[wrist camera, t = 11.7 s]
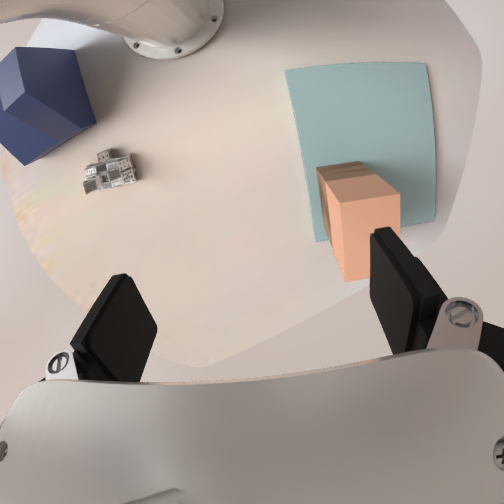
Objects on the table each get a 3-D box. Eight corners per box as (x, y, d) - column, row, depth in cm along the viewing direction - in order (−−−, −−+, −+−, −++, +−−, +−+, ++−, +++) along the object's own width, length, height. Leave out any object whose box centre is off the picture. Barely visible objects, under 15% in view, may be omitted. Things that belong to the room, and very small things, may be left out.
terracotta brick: (325, 181, 28) (339, 203, 23) (376, 174, 27) (400, 193, 22) (332, 250, 32) (345, 282, 27) (378, 242, 31) (398, 271, 26)
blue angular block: (40, 158, 34) (-13, 185, 23) (20, 92, 28) (-37, 105, 17) (96, 123, 32) (40, 141, 21) (74, 50, 26) (15, 47, 15)
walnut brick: (315, 167, 33) (325, 181, 28) (359, 161, 32) (376, 174, 27) (323, 227, 37) (333, 250, 32) (363, 220, 36) (379, 242, 31)
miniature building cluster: (138, 114, 31) (109, 121, 25) (150, 178, 36) (127, 199, 29) (82, 131, 32) (48, 143, 26) (95, 189, 37) (67, 210, 30)
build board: (284, 71, 28) (285, 70, 27) (421, 63, 26) (425, 63, 25) (314, 237, 39) (316, 242, 38) (430, 217, 37) (434, 221, 36)
